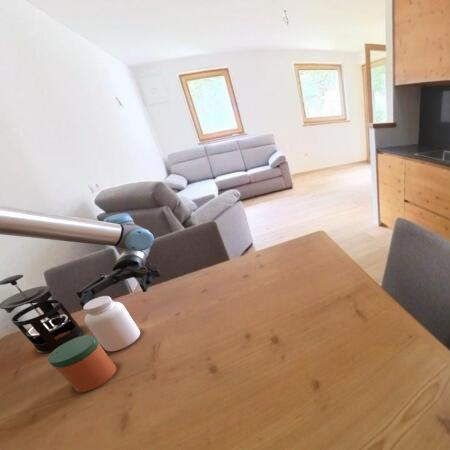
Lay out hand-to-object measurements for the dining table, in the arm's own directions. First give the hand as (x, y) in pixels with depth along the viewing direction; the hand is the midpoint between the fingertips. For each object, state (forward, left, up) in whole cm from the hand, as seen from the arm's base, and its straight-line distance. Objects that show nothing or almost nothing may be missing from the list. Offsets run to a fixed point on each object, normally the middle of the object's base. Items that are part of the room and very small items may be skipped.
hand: (114, 297), depth 84 cm
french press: (-16, -4, -10) cm, 20 cm away
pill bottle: (+4, -8, -10) cm, 14 cm away
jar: (+6, -20, -10) cm, 23 cm away
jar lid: (+6, -20, 0) cm, 21 cm away
